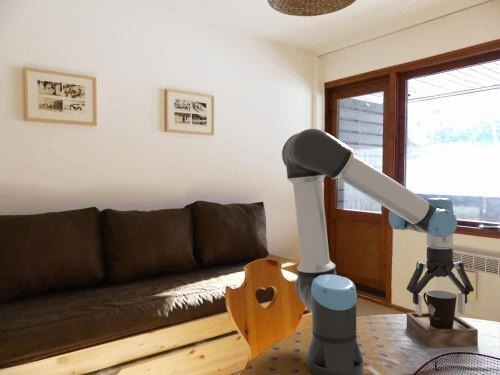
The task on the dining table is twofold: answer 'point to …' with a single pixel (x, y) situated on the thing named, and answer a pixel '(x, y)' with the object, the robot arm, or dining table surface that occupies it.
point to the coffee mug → (441, 308)
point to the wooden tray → (442, 332)
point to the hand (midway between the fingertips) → (439, 313)
